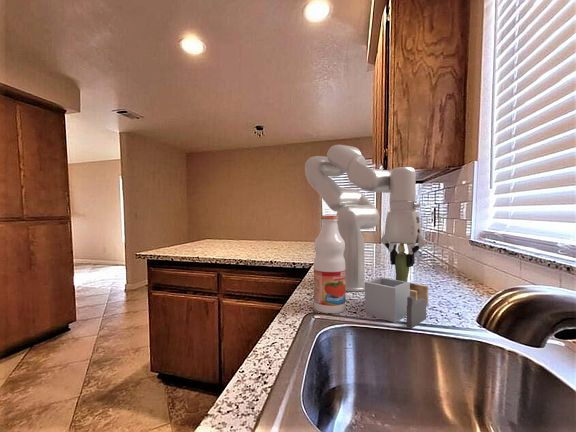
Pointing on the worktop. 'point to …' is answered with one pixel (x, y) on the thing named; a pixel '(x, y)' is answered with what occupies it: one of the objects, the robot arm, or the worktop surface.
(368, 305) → the grey open box
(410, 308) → the grey square panel
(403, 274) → the vegetable
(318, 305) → the fruit juice
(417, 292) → the holder
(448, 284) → the worktop surface
